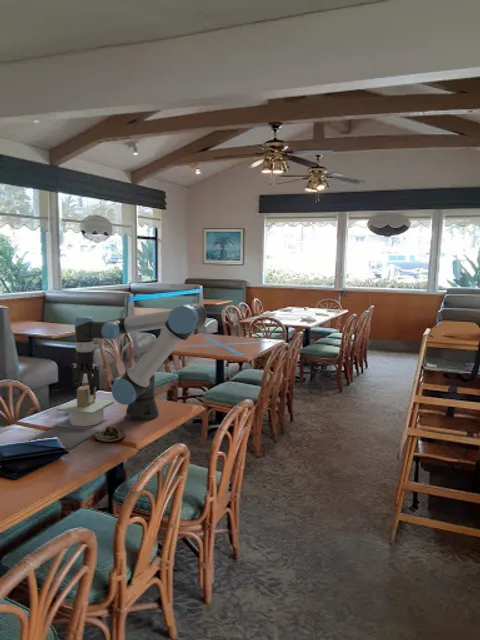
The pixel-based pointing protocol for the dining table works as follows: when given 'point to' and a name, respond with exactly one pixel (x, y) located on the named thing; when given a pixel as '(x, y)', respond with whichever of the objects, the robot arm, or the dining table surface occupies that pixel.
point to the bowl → (86, 418)
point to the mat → (68, 435)
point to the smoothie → (86, 382)
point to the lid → (85, 403)
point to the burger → (110, 434)
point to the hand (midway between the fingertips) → (86, 401)
